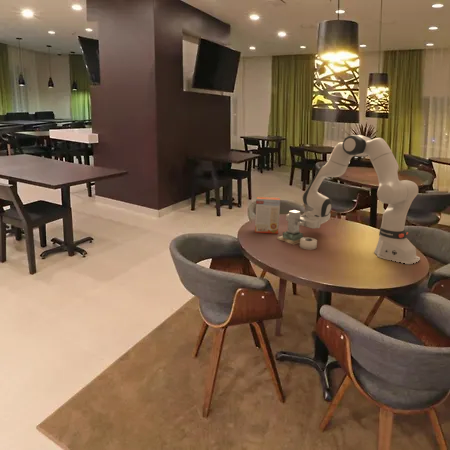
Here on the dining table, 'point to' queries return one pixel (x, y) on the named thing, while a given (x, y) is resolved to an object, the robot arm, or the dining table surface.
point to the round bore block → (308, 243)
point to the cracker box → (267, 215)
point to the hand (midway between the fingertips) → (292, 222)
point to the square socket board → (291, 238)
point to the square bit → (293, 222)
